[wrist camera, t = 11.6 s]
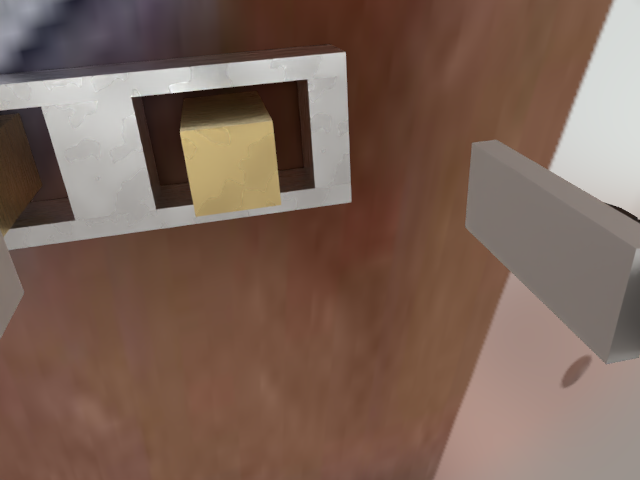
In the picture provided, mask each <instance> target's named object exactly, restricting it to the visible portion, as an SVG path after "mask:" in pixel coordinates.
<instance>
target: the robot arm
mask: <svg viewBox="0 0 640 480" xmlns="http://www.w3.org/2000/svg"><path fill="white" fill-rule="evenodd" d="M465 227H466V228H467V229H468V230H469V231H470V232H471V233H472V234H473V235H474V236H475V237H476V238H477V239H478V240H479V241H480V242H481V243H482V244H483V245H484V246H485V247H486V248H487V249H488V250H489V251H490V252H491V253H492V254H493V255H494V256H495V257H496V258H498V259H499V260H500V261H501V262H502V263H503V264H504V265H505V266H506V267H507V268H508V269H509V270H510V271H511V272H512V273H513V274H514V275H515V276H516V277H517V278H518V279H519V280H520V281H521V282H522V283H523V284H524V285H525V286H526V287H527V288H528V289H529V290H530V291H532V293H534V294H535V295H536V296H537V297H538V298H539V299H540V300H541V301H542V302H543V303H544V304H545V305H546V306H547V307H548V308H549V309H550V310H551V311H552V312H553V313H554V314H555V315H556V316H557V317H558V318H559V319H560V320H561V321H562V322H563V323H564V324H565V325H566V326H568V328H570V329H571V330H572V331H573V332H574V333H575V334H576V335H577V336H578V337H579V338H580V339H581V340H582V341H583V342H584V343H585V344H586V345H587V346H588V347H589V348H590V349H591V350H592V351H593V352H594V353H595V354H596V355H597V356H598V357H599V358H600V359H602V361H603V362H605V364H610V363H615V362H620V361H625V360H630V359H635V358H639V355H640V220H638V218H637V217H636V216H634V215H632V214H631V213H629V212H627V211H625V210H623V209H622V208H619V207H616V206H613V205H610V204H607V203H604V202H602V201H600V200H599V199H597V198H595V197H593V196H591V195H590V194H588V193H587V192H585V191H583V190H581V189H580V188H578V187H576V186H575V185H573V184H571V183H569V182H568V181H566V180H564V179H563V178H561V177H559V176H557V175H556V174H554V173H552V172H551V171H549V170H547V169H545V168H544V167H542V166H540V165H539V164H537V163H535V162H533V161H532V160H530V159H528V158H527V157H525V156H523V155H521V154H520V153H518V152H516V151H515V150H513V149H511V148H509V147H508V146H506V145H504V144H503V143H501V142H499V141H497V140H492V141H483V142H475V143H472V151H471V163H470V175H469V187H468V199H467V210H466V222H465ZM23 294H24V291H23V288H22V285H21V283H20V280H19V277H18V275H17V272H16V270H15V267H14V264H13V262H12V259H11V256H10V254H9V251H8V248H7V246H6V243H5V241H4V238H3V235H2V233H1V230H0V339H1V337H2V335H3V333H4V331H5V329H6V327H7V325H8V323H9V321H10V319H11V317H12V315H13V313H14V312H15V310H16V308H17V306H18V304H19V302H20V300H21V298H22V296H23Z"/></svg>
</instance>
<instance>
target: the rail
mask: <svg viewBox="0 0 640 480" xmlns="http://www.w3.org/2000/svg"><path fill="white" fill-rule="evenodd" d="M296 80H297V90H298V102H299V115H300V127H301V140H302V153H303V165H304V168H297V169H289V170H281V171H278V177H279V187H280V196H281V205H278V206H271V207H263V208H256V209H249V210H242V211H235V212H227V213H220V214H213V215H206V216H198V217H196V216H195V211H194V205H193V200H192V195H191V189H190V184H189V182H187V183H180V184H172V185H164V186H160V182H159V177H158V173H157V168H156V163H155V159H154V154H153V149H152V144H151V140H150V135H149V130H148V126H147V121H146V116H145V112H144V107H143V102H142V97H141V96H148V95H158V94H168V93H178V92H188V91H197V90H207V89H217V88H227V87H237V86H246V85H256V84H266V83H276V82H286V81H296ZM40 106H41V108H42V111H43V114H44V118H45V121H46V124H47V128H48V131H49V134H50V138H51V141H52V144H53V147H54V151H55V154H56V157H57V161H58V164H59V167H60V171H61V174H62V177H63V181H64V184H65V187H66V191H67V194H68V197H69V198H62V199H54V200H46V201H38V202H31V203H29V204H28V205H27V206H26V208H25V209H24V210H23V212H22V213H21V214H20V216H19V217H18V218H17V220H16V221H15V222H14V224H13V225H12V227H11V228H10V229H9V231H8V232H7V233H6V235H5V236H4V237H3V238H4V241H5V243H6V246H7V248H8V250H12V249H19V248H27V247H34V246H41V245H48V244H55V243H62V242H70V241H77V240H84V239H91V238H98V237H105V236H112V235H120V234H127V233H134V232H141V231H148V230H155V229H163V228H170V227H177V226H184V225H191V224H198V223H206V222H213V221H220V220H227V219H234V218H241V217H249V216H256V215H263V214H270V213H277V212H284V211H292V210H299V209H306V208H313V207H320V206H327V205H335V204H342V203H349V202H351V177H350V151H349V124H348V98H347V71H346V52H345V51H343V50H341V49H339V48H337V47H335V46H333V45H331V44H324V45H313V46H302V47H291V48H280V49H269V50H259V51H248V52H237V53H226V54H215V55H204V56H193V57H183V58H172V59H161V60H150V61H139V62H128V63H117V64H107V65H96V66H85V67H74V68H63V69H52V70H41V71H31V72H20V73H9V74H0V111H1V110H11V109H21V108H30V107H40Z"/></svg>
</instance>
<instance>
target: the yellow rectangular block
mask: <svg viewBox="0 0 640 480" xmlns="http://www.w3.org/2000/svg"><path fill="white" fill-rule="evenodd" d="M180 136H181V141H182V146H183V152H184V157H185V162H186V168H187V173H188V179H189V184H190V189H191V195H192V200H193V205H194V211H195V216H196V217H198V216H206V215H213V214H220V213H227V212H235V211H242V210H249V209H256V208H263V207H271V206H278V205H281V196H280V187H279V177H278V167H277V158H276V148H275V139H274V129H273V121H272V119H271V117H270V115H269V113H268V111H267V109H266V107H265V105H264V103H263V101H262V100H261V98H260V96H259V94H258V92H257V91H250V92H240V93H231V94H221V95H212V96H202V97H193V98H184V101H183V109H182V117H181V126H180Z"/></svg>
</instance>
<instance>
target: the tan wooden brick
mask: <svg viewBox="0 0 640 480" xmlns="http://www.w3.org/2000/svg"><path fill="white" fill-rule="evenodd" d="M41 186H42V183H41V180H40V177H39V174H38V171H37V168H36V164H35V161H34V158H33V155H32V152H31V149H30V146H29V143H28V140H27V136H26V133H25V130H24V127H23V124H22V121H21V118H20V115H19V113H17V114H8V115H0V230H1V233H2V235H3V237H4V236H5V235H6V233H7V232H8V231H9V229H10V228H11V227H12V225H13V224H14V222H15V221H16V220H17V218H18V217H19V216H20V214H21V213H22V212H23V210H24V209H25V208H26V206H27V205H28V204H29V202H30V201H31V200H32V198H33V197H34V196H35V194H36V193H37V192H38V190H39V189H40V188H41Z"/></svg>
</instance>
